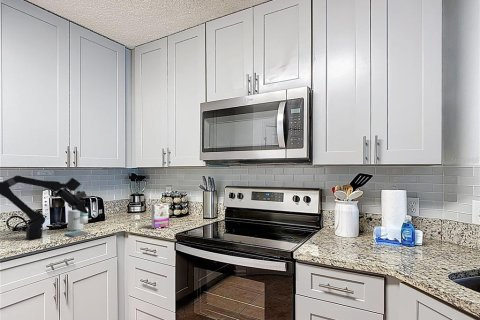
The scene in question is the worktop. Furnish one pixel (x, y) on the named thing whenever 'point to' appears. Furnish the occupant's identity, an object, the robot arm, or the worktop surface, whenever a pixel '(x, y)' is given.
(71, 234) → the mat
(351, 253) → the worktop surface
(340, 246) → the worktop surface
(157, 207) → the candy bar box
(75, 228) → the supplement box
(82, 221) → the cartridge
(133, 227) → the worktop surface
